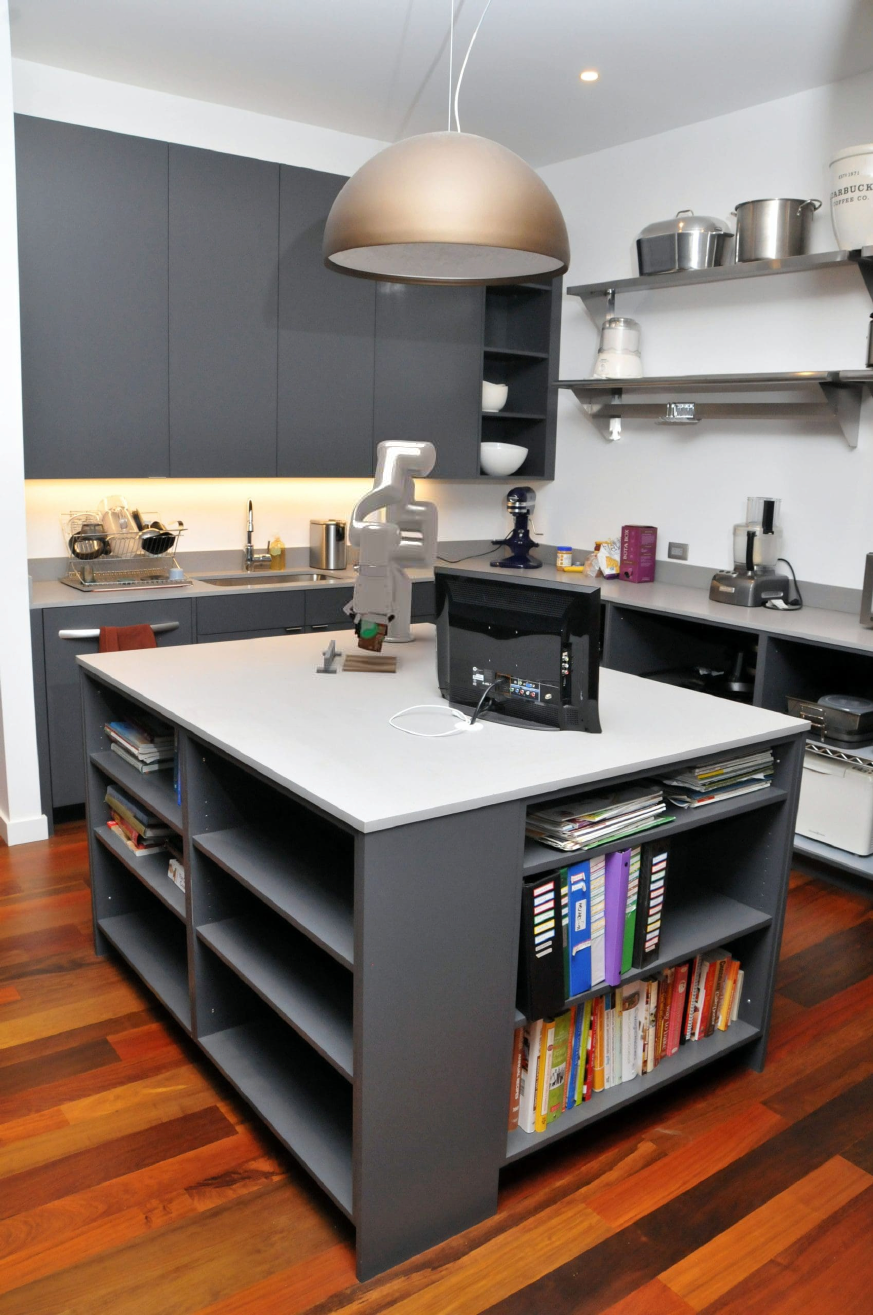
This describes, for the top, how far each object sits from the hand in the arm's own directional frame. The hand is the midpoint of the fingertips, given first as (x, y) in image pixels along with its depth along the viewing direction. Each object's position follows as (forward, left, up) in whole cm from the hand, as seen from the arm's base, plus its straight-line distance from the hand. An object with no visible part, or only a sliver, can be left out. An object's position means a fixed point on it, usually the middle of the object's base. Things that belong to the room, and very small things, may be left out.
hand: (371, 637), depth 270 cm
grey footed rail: (0, -11, -8) cm, 13 cm away
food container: (0, -2, -3) cm, 4 cm away
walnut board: (0, 0, -8) cm, 8 cm away
